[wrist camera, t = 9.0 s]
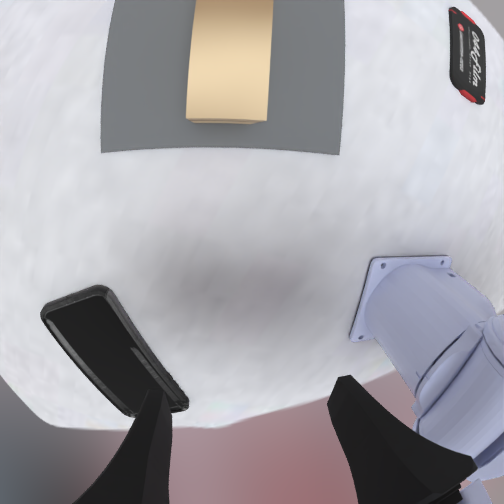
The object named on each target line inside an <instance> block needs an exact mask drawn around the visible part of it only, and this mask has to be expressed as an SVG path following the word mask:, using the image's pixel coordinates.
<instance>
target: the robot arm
mask: <svg viewBox="0 0 504 504" xmlns="http://www.w3.org/2000/svg"><path fill="white" fill-rule="evenodd" d="M382 263H383V265H382V266H381V264H382ZM451 263H452V258H451V257H450V256H427V257H391V258H375V259H374V260H373V261H372V262H371V264H370V268H369V272H368V276H367V280H366V284H365V288H364V291H363V295H362V298H361V302H360V305H359V309H358V312H357V315H356V319H355V322H354V325H353V328H352V331H351V334H350V340H351V341H352V342H358V341H364V340H370V339H376V340H377V341H378V343H379V344H380V346H381V347H382V349H383V350H384V352H385V353H386V354H387V356H388V357H389V359H390V360H391V362H392V363H393V365H394V366H395V368H396V369H397V371H398V372H399V374H400V375H401V377H402V378H403V380H404V381H405V383H406V384H407V386H408V387H409V389H410V391H411V392H412V394H413V395H414V397H415V398H416V401H415V403H414V404H413V405H412V407H411V408H412V410H413V411H414V413H415V415H416V416H417V418H416V420H415V422H414V425H413V428H412V429H410V428H409V427H407V426H406V425H405V424H403V423H402V422H401V421H399V420H398V419H397V418H396V417H394V416H393V415H392V414H391V413H390V412H388V411H387V410H386V409H385V408H384V407H383V406H382V405H380V403H379V402H377V401H376V400H375V399H374V398H373V397H372V396H371V395H370V394H369V393H368V392H367V391H366V390H365V389H364V388H363V387H362V386H361V385H360V384H359V383H358V382H357V381H356V380H355V379H354V378H353V377H352V376H351V375H347V376H342V377H338V379H337V381H336V384H335V386H334V388H333V391H332V393H331V396H330V398H329V400H328V403H327V406H328V410H329V414H330V417H331V421H332V424H333V427H334V429H335V431H336V434H337V436H338V439H339V441H340V444H341V446H342V448H343V451H344V453H345V455H346V458H347V460H348V463H349V466H350V469H351V473H352V477H353V480H354V485H355V489H356V493H357V498H358V504H493V503H492V501H491V499H490V497H489V495H488V493H487V491H486V490H485V488H484V486H483V484H482V482H481V481H483V480H488V479H493V478H497V477H501V476H504V314H502V315H498V316H497V315H496V312H495V309H494V307H493V305H492V303H491V302H490V300H489V299H488V298H487V297H486V296H484V295H483V294H482V293H481V292H480V291H478V290H477V289H476V288H475V287H473V286H472V285H471V284H470V283H468V282H467V281H466V280H465V279H463V278H462V277H461V276H460V275H458V274H457V273H456V272H454V271H453V270H452V269H450V266H451ZM359 336H360V337H359ZM171 446H172V414H171V411H170V408H169V404H168V401H167V398H166V394H165V391H164V390H156V389H149V390H148V391H147V393H146V396H145V398H144V401H143V403H142V405H141V408H140V410H139V412H138V414H137V416H136V418H135V420H134V422H133V424H132V426H131V428H130V430H129V432H128V434H127V436H126V437H125V439H124V441H123V442H122V444H121V446H120V448H119V449H118V451H117V452H116V454H115V455H114V457H113V458H112V460H111V461H110V463H109V464H108V465H107V467H106V468H105V470H104V471H103V472H102V473H101V475H100V476H99V477H98V478H97V479H96V481H95V482H94V483H93V484H92V485H91V486H90V487H89V488H88V489H87V490H86V491H85V492H84V493H83V494H82V495H81V496H80V497H79V498H78V499H77V500H76V501H75V502H74V503H72V504H169V490H168V485H169V484H168V483H169V468H170V456H171ZM465 479H467V480H469V481H471V482H472V483H471V484H470V485H468V486H467V487H466V488H464V489H462V490H461V491H459V490H458V489H460V488H461V485H460V483H461V482H462V481H464V480H465Z"/></svg>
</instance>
